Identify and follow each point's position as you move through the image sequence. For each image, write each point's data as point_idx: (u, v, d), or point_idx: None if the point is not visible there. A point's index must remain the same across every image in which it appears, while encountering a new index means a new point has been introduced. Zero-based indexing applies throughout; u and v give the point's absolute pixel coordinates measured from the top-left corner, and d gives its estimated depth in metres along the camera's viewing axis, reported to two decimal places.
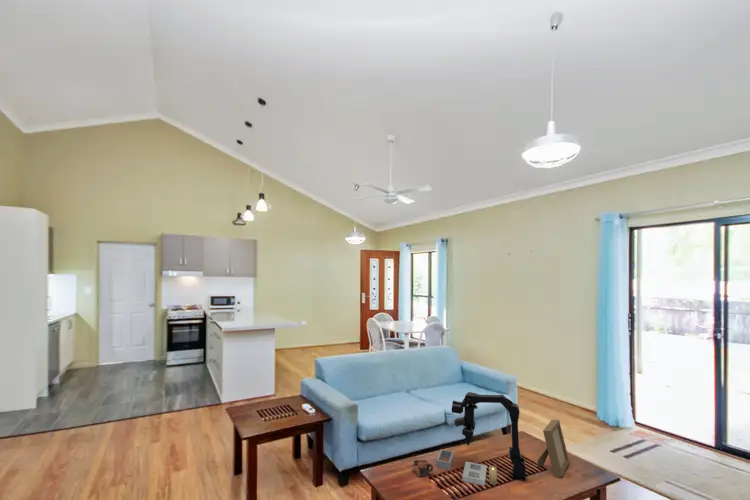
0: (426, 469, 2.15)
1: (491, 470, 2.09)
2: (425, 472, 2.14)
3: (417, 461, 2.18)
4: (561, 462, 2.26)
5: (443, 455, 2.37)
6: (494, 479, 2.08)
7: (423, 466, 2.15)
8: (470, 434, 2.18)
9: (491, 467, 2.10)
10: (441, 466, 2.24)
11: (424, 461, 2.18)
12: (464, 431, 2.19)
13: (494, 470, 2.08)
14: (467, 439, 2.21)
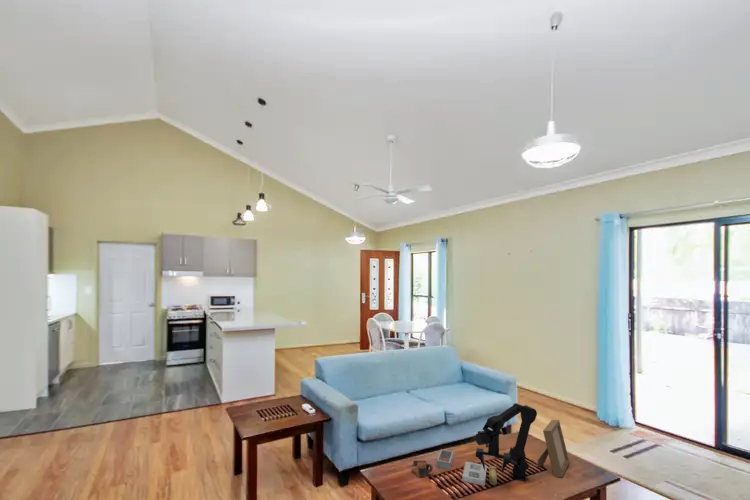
0: (425, 469, 2.15)
1: (491, 470, 2.09)
2: (424, 472, 2.14)
3: (416, 461, 2.17)
4: (561, 462, 2.26)
5: (443, 455, 2.37)
6: (494, 479, 2.08)
7: (422, 466, 2.15)
8: None
9: (491, 467, 2.10)
10: (441, 466, 2.24)
11: (423, 461, 2.17)
12: (476, 449, 2.15)
13: (494, 470, 2.08)
14: None
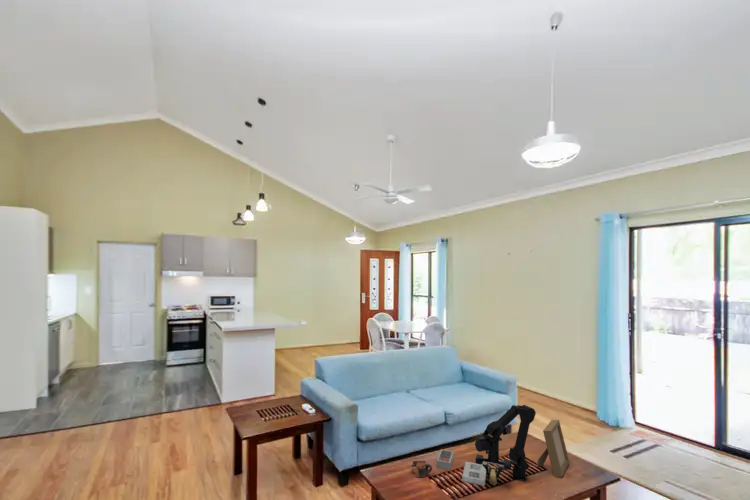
0: (425, 470, 2.14)
1: (491, 470, 2.09)
2: (424, 473, 2.13)
3: (416, 462, 2.17)
4: (561, 462, 2.26)
5: (443, 455, 2.37)
6: (494, 479, 2.08)
7: (422, 467, 2.14)
8: None
9: (491, 467, 2.10)
10: (441, 466, 2.24)
11: (423, 462, 2.17)
12: (476, 456, 2.15)
13: (494, 470, 2.08)
14: None
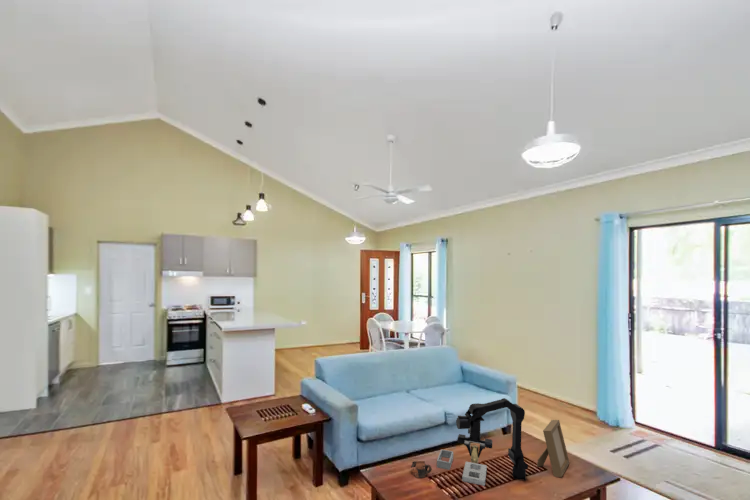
0: (424, 470, 2.14)
1: (473, 449, 2.12)
2: (423, 473, 2.13)
3: (415, 462, 2.17)
4: (561, 462, 2.26)
5: (443, 455, 2.37)
6: (475, 458, 2.11)
7: (421, 467, 2.14)
8: None
9: (473, 446, 2.14)
10: (441, 466, 2.24)
11: (422, 462, 2.17)
12: None
13: (475, 449, 2.12)
14: None
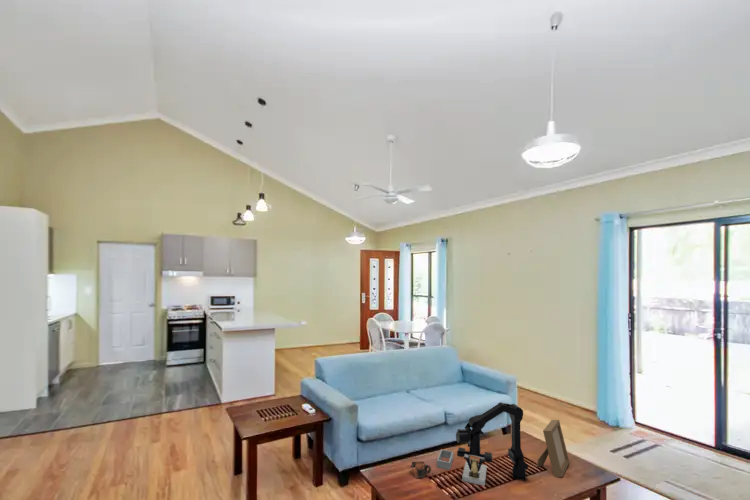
0: (424, 470, 2.13)
1: (472, 463, 2.12)
2: (423, 473, 2.12)
3: (415, 462, 2.16)
4: (561, 462, 2.26)
5: (443, 455, 2.37)
6: (475, 471, 2.11)
7: (421, 467, 2.13)
8: (457, 453, 2.15)
9: (472, 460, 2.13)
10: (441, 466, 2.24)
11: (422, 462, 2.16)
12: (458, 449, 2.18)
13: (475, 463, 2.11)
14: None
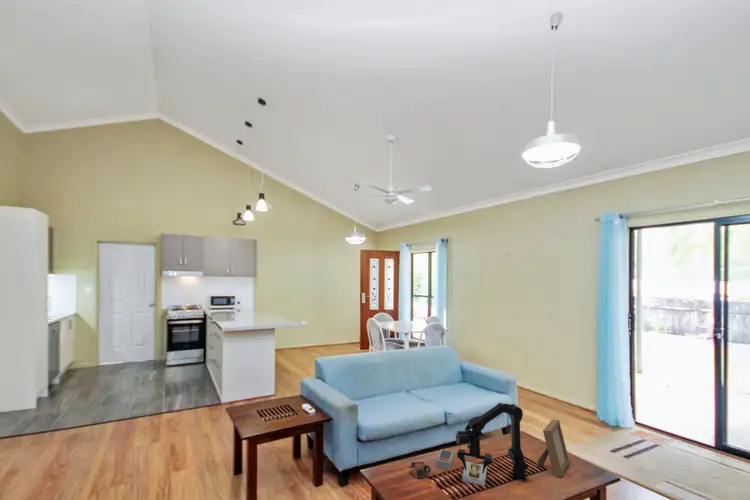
0: (424, 471, 2.13)
1: (472, 467, 2.11)
2: (423, 474, 2.12)
3: (414, 463, 2.16)
4: (561, 462, 2.26)
5: (443, 455, 2.37)
6: (475, 476, 2.11)
7: (420, 468, 2.13)
8: (457, 455, 2.15)
9: (472, 464, 2.13)
10: (441, 466, 2.24)
11: (421, 463, 2.16)
12: (458, 450, 2.18)
13: (475, 467, 2.11)
14: None
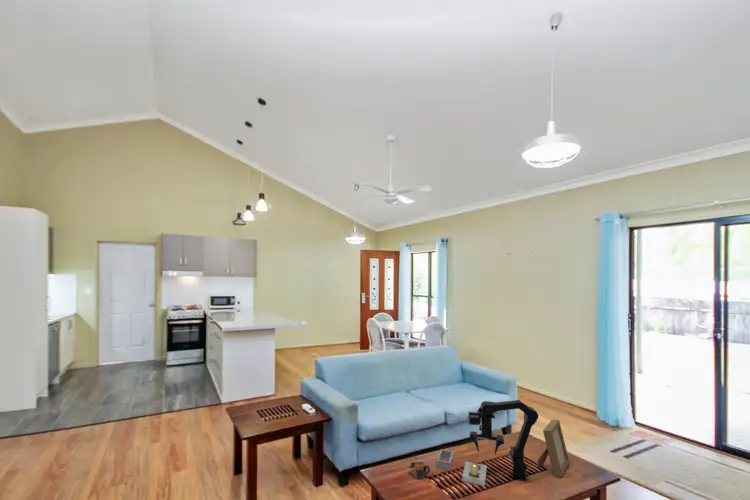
0: (423, 471, 2.13)
1: (472, 467, 2.11)
2: (422, 474, 2.12)
3: (414, 463, 2.15)
4: (561, 462, 2.26)
5: (443, 455, 2.37)
6: (475, 476, 2.11)
7: (420, 468, 2.13)
8: None
9: (472, 464, 2.13)
10: (441, 466, 2.24)
11: (421, 463, 2.15)
12: (470, 433, 2.24)
13: (475, 467, 2.11)
14: None
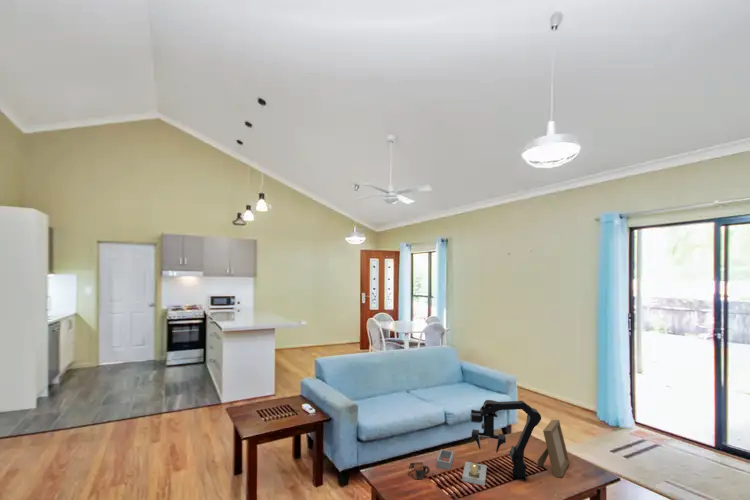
0: (423, 471, 2.12)
1: (472, 467, 2.11)
2: (422, 474, 2.11)
3: (413, 463, 2.15)
4: (561, 462, 2.26)
5: (443, 455, 2.37)
6: (475, 476, 2.11)
7: (420, 468, 2.12)
8: None
9: (472, 464, 2.13)
10: (441, 466, 2.24)
11: (420, 463, 2.15)
12: (472, 431, 2.25)
13: (475, 467, 2.11)
14: None
